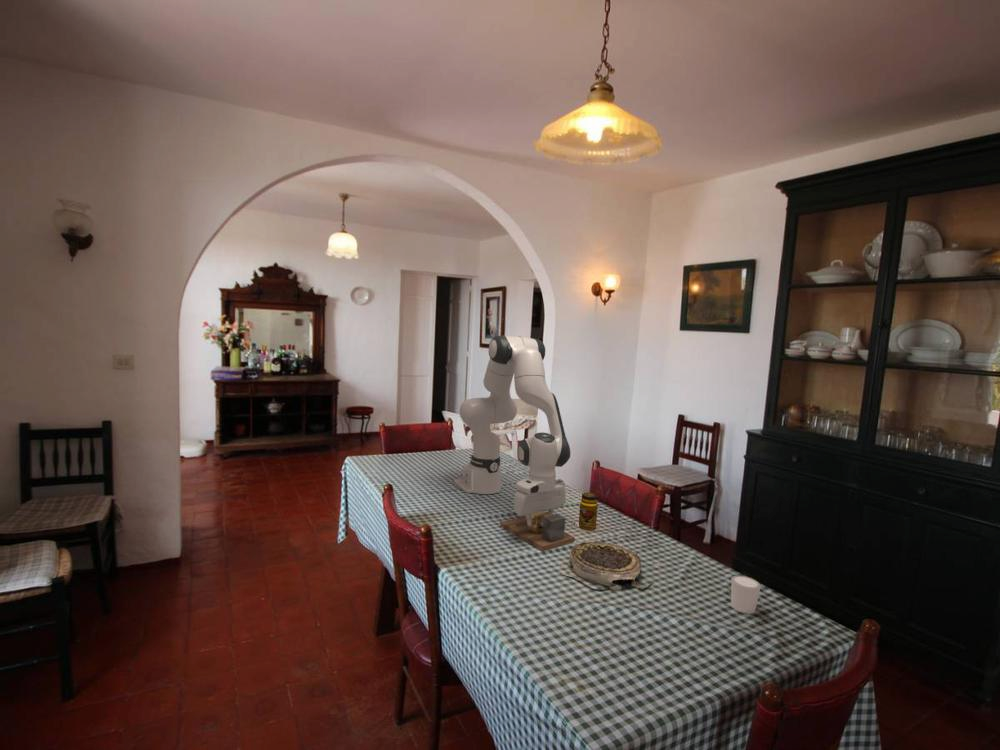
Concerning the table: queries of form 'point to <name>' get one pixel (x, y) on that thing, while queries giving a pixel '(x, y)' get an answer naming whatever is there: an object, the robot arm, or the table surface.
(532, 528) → the nut
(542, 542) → the rod board
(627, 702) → the table surface
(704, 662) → the table surface
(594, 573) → the pie
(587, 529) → the condiment
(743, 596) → the white cup
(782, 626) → the table surface
